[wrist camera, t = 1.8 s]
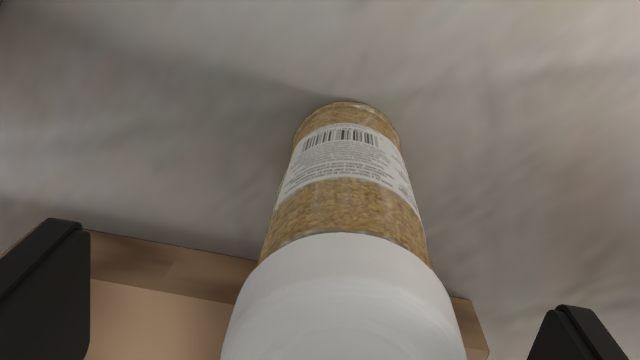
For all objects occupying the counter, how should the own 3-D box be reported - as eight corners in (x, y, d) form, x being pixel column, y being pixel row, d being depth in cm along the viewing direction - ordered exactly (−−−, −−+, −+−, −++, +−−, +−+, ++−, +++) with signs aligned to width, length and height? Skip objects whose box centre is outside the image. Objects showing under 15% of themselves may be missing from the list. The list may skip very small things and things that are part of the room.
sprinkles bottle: (284, 189, 22) (198, 462, 10) (303, 86, 21) (230, 258, 8) (387, 210, 22) (432, 508, 10) (415, 110, 21) (512, 316, 8)
